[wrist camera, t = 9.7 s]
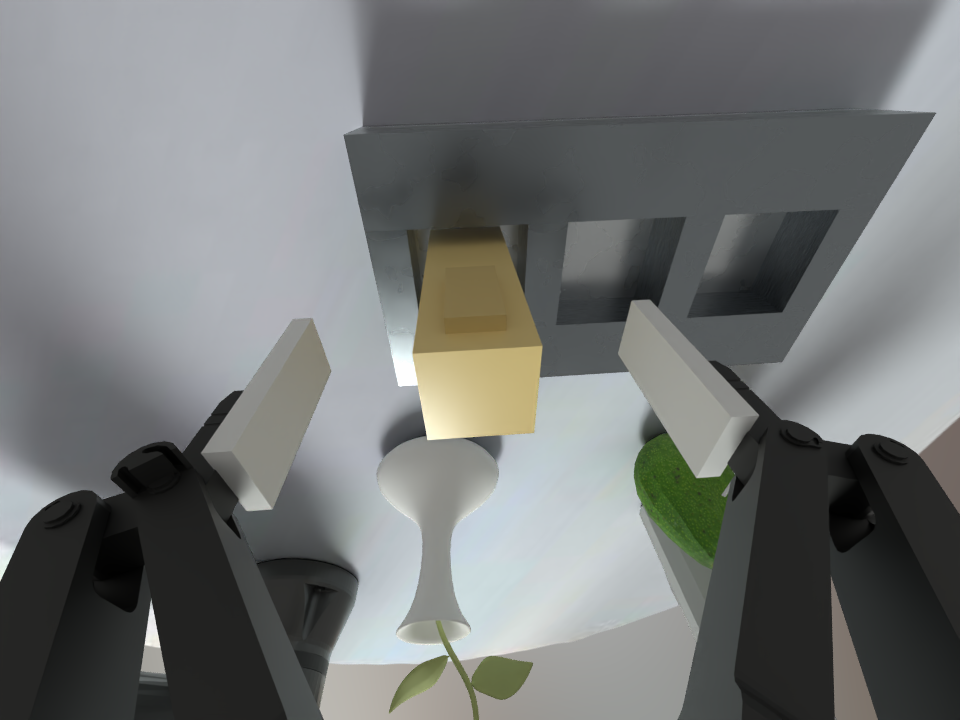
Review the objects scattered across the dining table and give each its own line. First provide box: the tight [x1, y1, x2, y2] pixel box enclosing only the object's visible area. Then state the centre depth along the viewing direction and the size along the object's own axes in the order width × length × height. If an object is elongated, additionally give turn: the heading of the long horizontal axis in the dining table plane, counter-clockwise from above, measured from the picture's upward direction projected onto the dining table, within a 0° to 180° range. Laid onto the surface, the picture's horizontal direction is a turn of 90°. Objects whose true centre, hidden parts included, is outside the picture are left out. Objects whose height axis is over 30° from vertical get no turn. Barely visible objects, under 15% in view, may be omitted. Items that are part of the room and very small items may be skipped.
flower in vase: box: [377, 436, 533, 720], centre depth 25 cm, size 13×11×25 cm
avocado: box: [634, 433, 735, 569], centre depth 30 cm, size 8×8×12 cm
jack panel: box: [344, 109, 936, 386], centre depth 21 cm, size 26×14×4 cm, turn 91°
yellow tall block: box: [412, 227, 542, 440], centre depth 17 cm, size 4×5×12 cm
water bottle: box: [640, 505, 837, 720], centre depth 33 cm, size 9×8×25 cm
